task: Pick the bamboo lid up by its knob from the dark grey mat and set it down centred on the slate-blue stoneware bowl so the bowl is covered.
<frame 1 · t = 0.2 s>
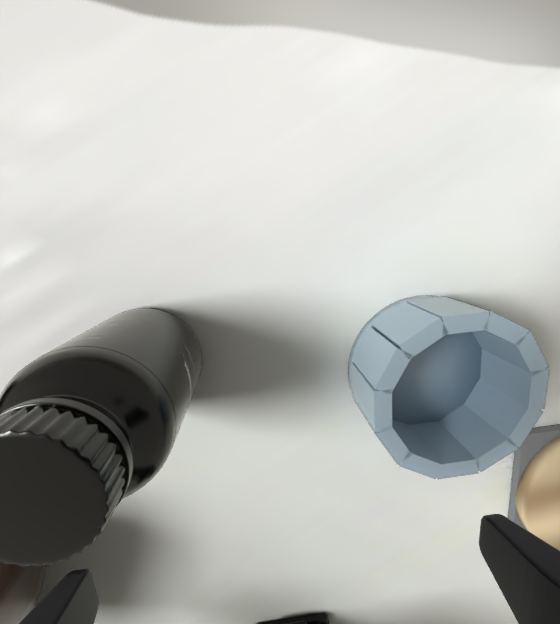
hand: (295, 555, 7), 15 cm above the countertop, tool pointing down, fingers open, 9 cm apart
supplement bottle: (151, 354, 21), on the countertop
bowl: (417, 364, 23), on the countertop
pepper mill: (9, 551, 24), on the countertop
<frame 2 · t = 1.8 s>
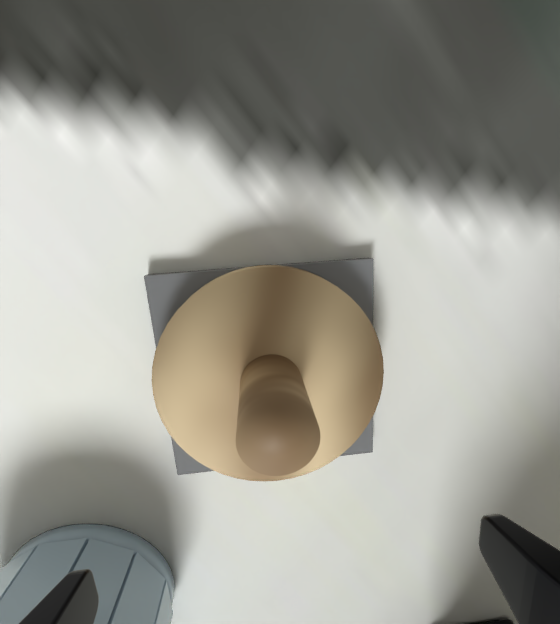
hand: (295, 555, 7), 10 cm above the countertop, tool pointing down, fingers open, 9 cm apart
mat: (269, 368, 17), on the countertop
bowl: (91, 590, 20), on the countertop
lid: (269, 372, 17), point 1 cm above the countertop, touching mat
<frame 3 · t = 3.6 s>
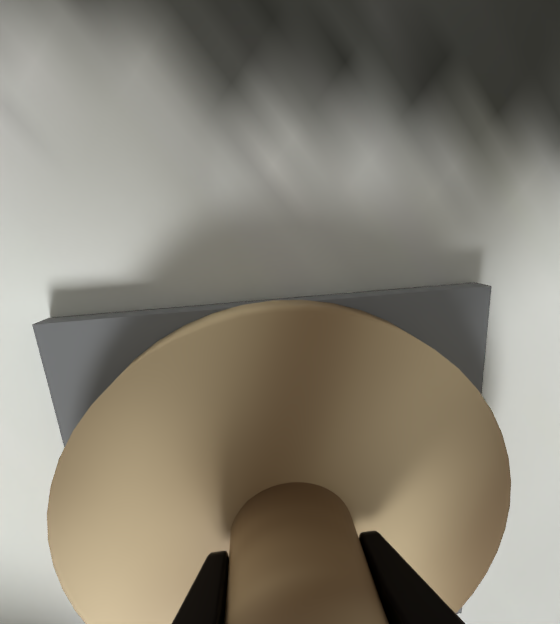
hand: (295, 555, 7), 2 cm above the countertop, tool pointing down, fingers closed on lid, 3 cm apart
mat: (284, 479, 10), on the countertop
lid: (287, 495, 9), point 1 cm above the countertop, touching gripper, mat
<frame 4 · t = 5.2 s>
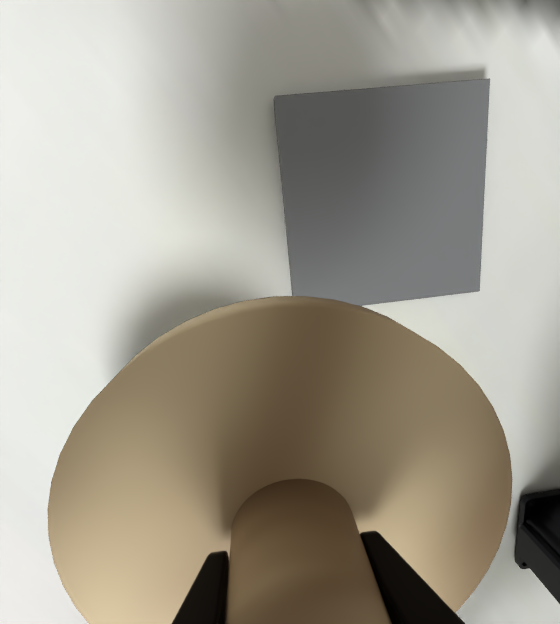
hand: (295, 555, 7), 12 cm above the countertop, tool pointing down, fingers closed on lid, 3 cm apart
mat: (382, 203, 18), on the countertop
lid: (287, 492, 9), point 11 cm above the countertop, touching gripper
when the fingers open (8 cm above the countertop, at t = 7.0 s): lid drops 2 cm, resting on bowl.
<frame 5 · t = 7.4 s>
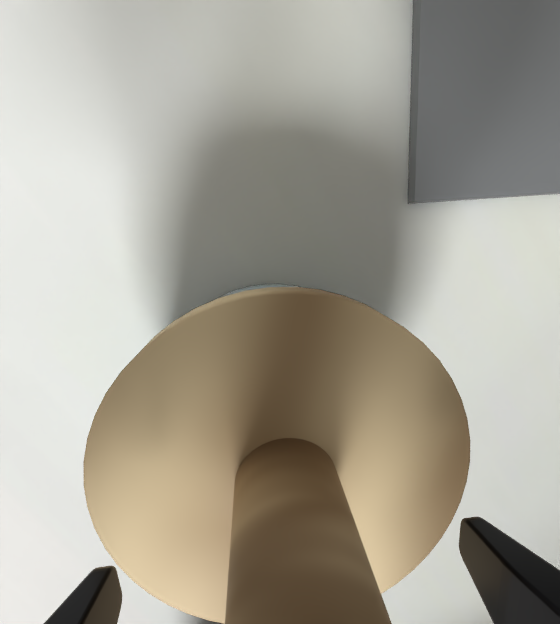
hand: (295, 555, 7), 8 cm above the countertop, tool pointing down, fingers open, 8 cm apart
mat: (543, 51, 13), on the countertop
lid: (282, 455, 11), point 5 cm above the countertop, touching bowl
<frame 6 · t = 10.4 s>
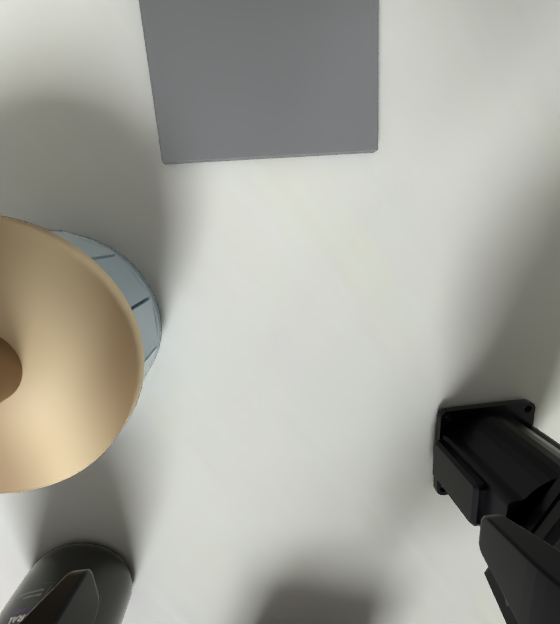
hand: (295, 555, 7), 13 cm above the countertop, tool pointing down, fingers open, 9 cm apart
supplement bottle: (84, 575, 22), on the countertop
mat: (263, 35, 16), on the countertop
bowl: (69, 324, 18), on the countertop
lid: (3, 355, 13), point 5 cm above the countertop, touching bowl
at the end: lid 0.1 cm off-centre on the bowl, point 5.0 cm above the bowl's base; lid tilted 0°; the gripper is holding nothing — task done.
